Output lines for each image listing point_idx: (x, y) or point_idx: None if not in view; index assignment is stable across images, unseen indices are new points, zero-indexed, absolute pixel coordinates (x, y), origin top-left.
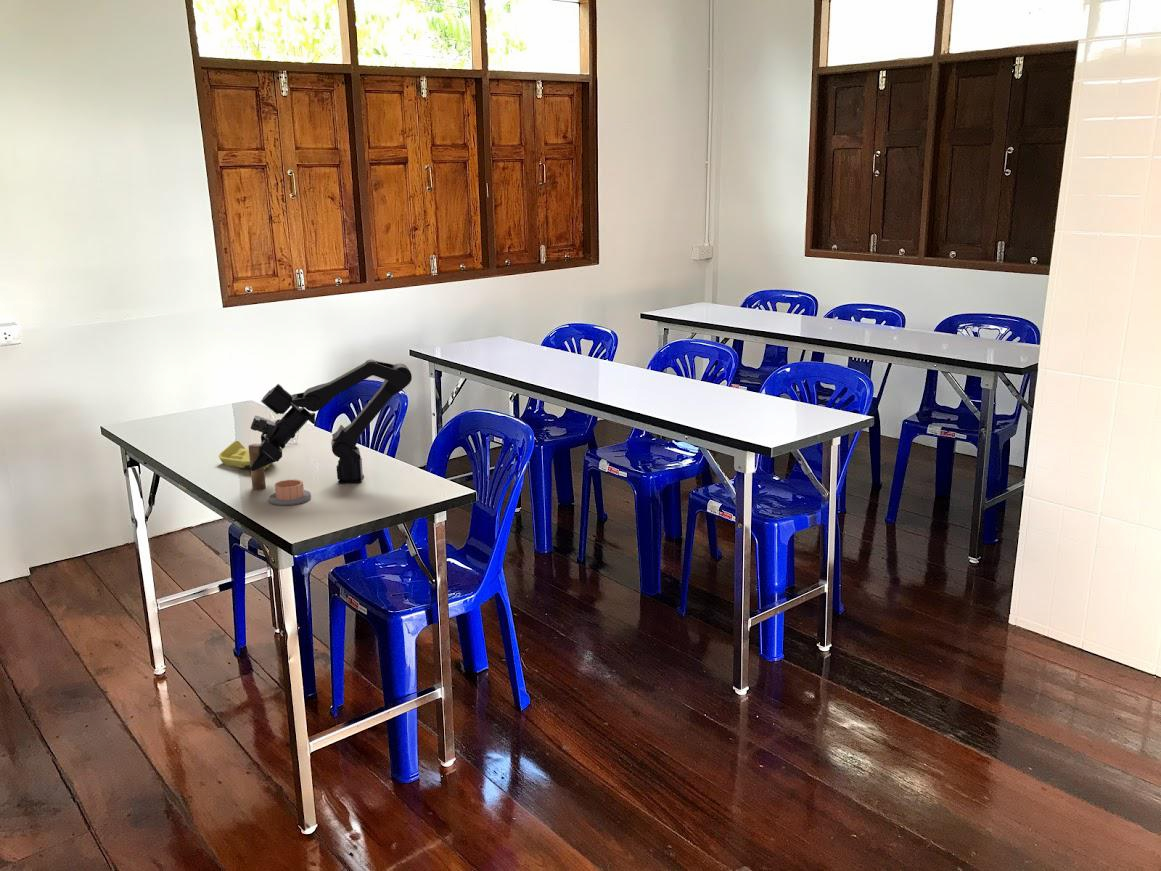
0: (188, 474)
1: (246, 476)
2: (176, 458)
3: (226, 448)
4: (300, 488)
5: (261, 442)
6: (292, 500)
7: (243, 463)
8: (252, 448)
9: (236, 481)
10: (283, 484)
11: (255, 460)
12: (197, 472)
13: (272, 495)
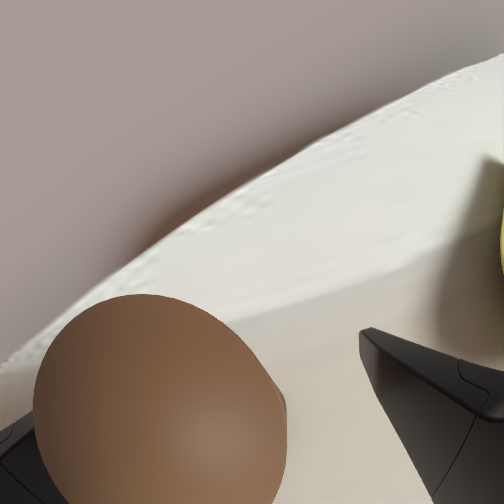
0: (404, 111)
1: (437, 281)
2: (483, 90)
3: None
4: None
5: (502, 420)
6: None
7: (501, 231)
8: (49, 386)
9: (365, 262)
10: None
11: (18, 420)
12: (427, 125)
13: None
